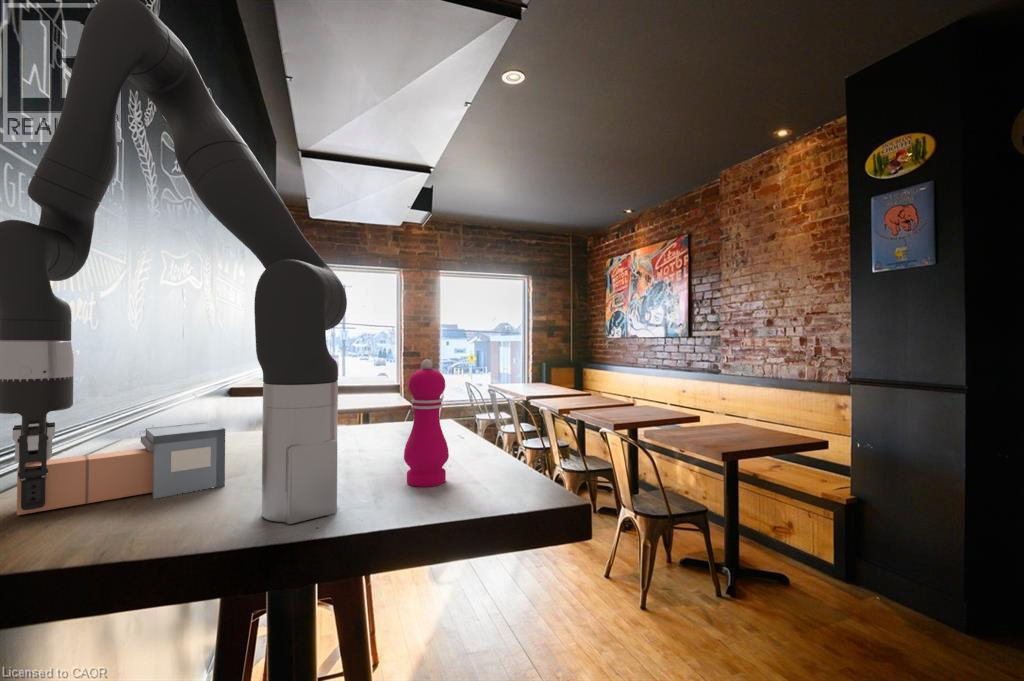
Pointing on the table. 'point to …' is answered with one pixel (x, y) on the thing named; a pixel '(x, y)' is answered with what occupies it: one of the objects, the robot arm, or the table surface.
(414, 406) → the pepper mill
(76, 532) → the table surface
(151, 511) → the table surface
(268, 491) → the robot arm
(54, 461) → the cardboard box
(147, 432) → the block
